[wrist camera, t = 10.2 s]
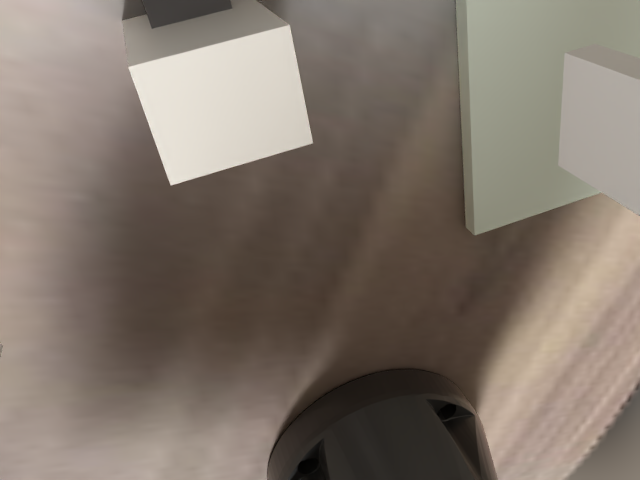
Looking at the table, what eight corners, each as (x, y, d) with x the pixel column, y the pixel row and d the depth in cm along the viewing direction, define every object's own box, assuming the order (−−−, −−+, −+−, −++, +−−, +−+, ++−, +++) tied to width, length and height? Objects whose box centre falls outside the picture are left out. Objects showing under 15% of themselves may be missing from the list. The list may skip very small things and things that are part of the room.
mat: (614, 177, 36) (626, 183, 35) (465, 227, 34) (474, 235, 33) (659, -213, 25) (677, -216, 25) (448, -167, 24) (460, -169, 23)
